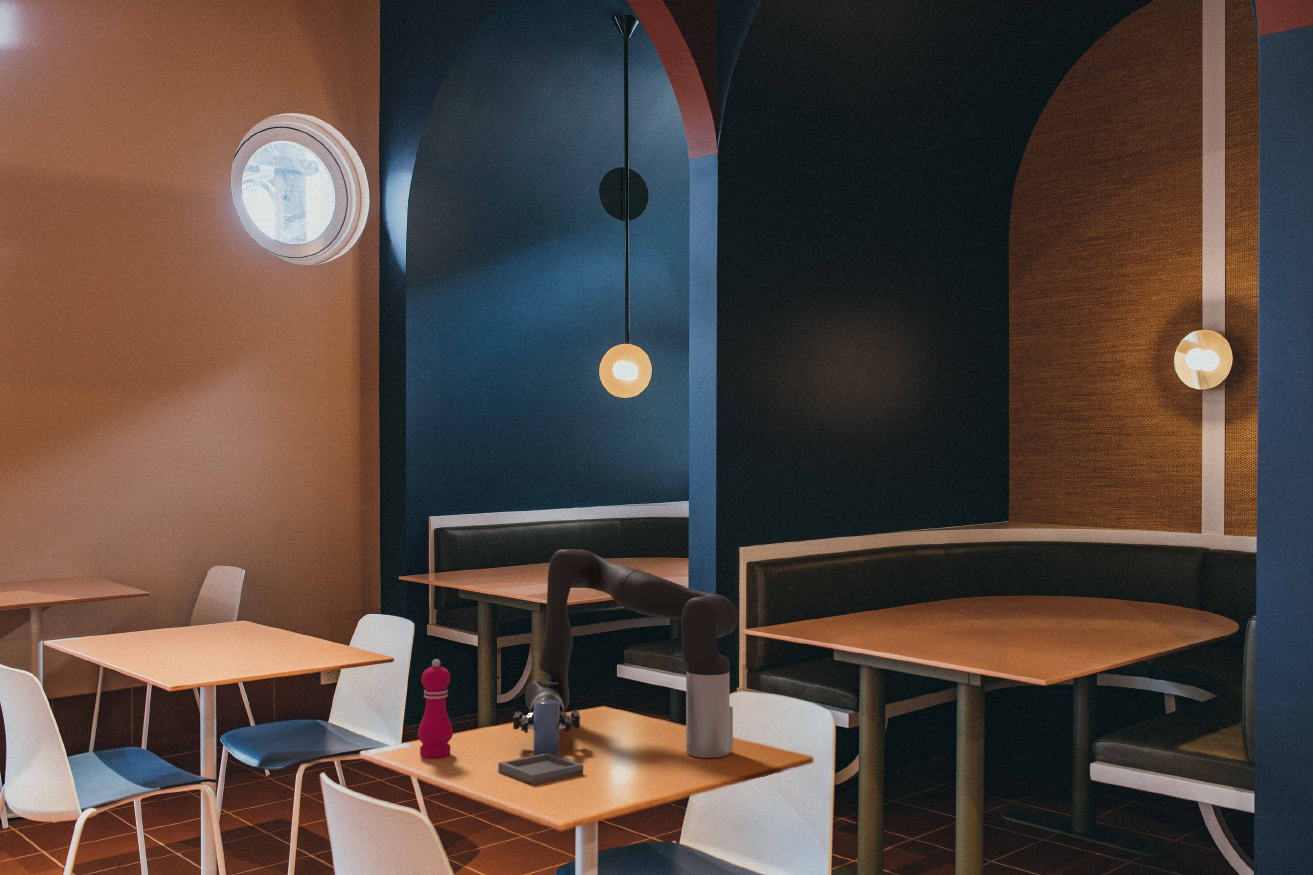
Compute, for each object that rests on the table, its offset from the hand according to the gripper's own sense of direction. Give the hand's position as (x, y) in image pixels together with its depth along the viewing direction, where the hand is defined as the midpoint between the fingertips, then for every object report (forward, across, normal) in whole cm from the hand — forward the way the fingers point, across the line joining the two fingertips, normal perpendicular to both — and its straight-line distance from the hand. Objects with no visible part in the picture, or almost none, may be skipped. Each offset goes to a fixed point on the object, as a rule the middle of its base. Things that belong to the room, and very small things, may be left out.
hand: (546, 727), depth 226 cm
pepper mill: (-4, -23, +6) cm, 24 cm away
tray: (+13, -1, +6) cm, 14 cm away
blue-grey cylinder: (-2, 0, +6) cm, 6 cm away
